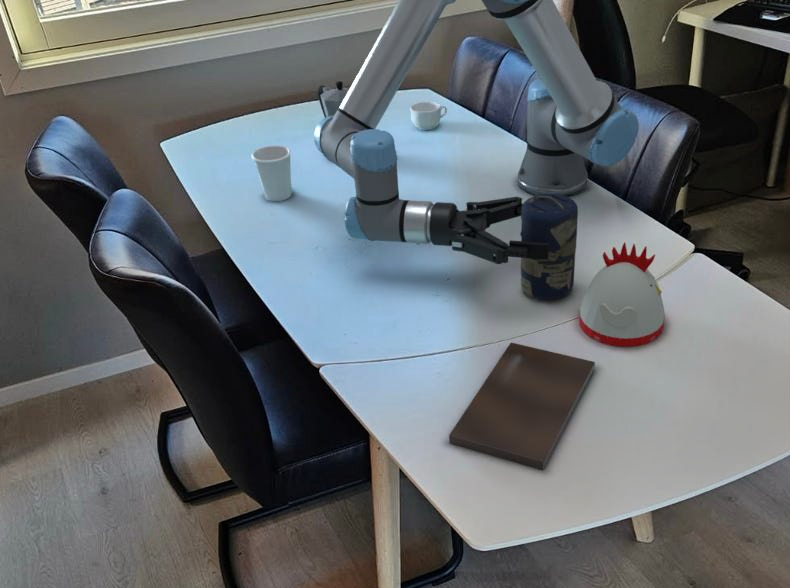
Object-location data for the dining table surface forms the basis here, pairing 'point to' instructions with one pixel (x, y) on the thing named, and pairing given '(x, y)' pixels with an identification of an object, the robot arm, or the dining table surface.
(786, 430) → the dining table surface
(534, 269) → the canister
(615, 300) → the kitchen timer
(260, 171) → the dixie cup
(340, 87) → the coffeepot
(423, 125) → the teacup
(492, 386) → the serving board
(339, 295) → the dining table surface
